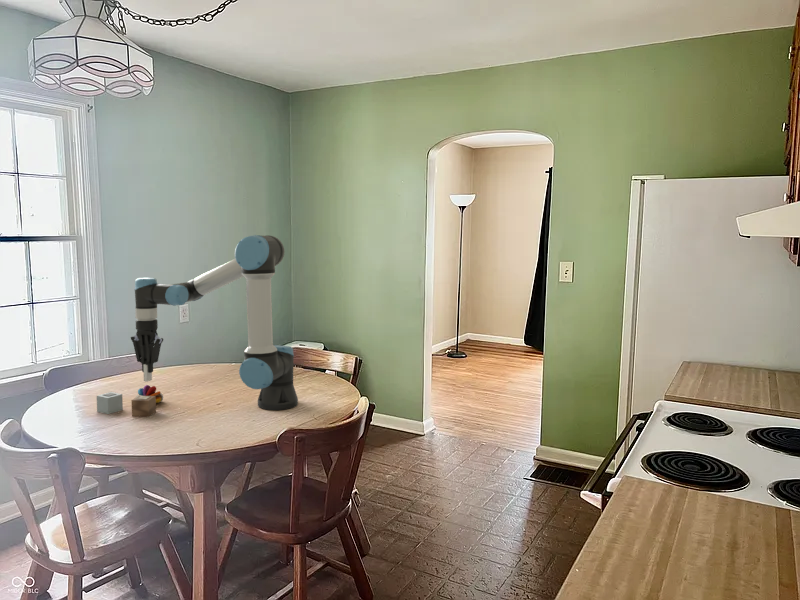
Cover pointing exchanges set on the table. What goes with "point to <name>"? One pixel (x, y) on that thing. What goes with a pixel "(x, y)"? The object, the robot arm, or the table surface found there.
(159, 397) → the rainbow segmented toy
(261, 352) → the robot arm
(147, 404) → the walnut block
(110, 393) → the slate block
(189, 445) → the table surface
